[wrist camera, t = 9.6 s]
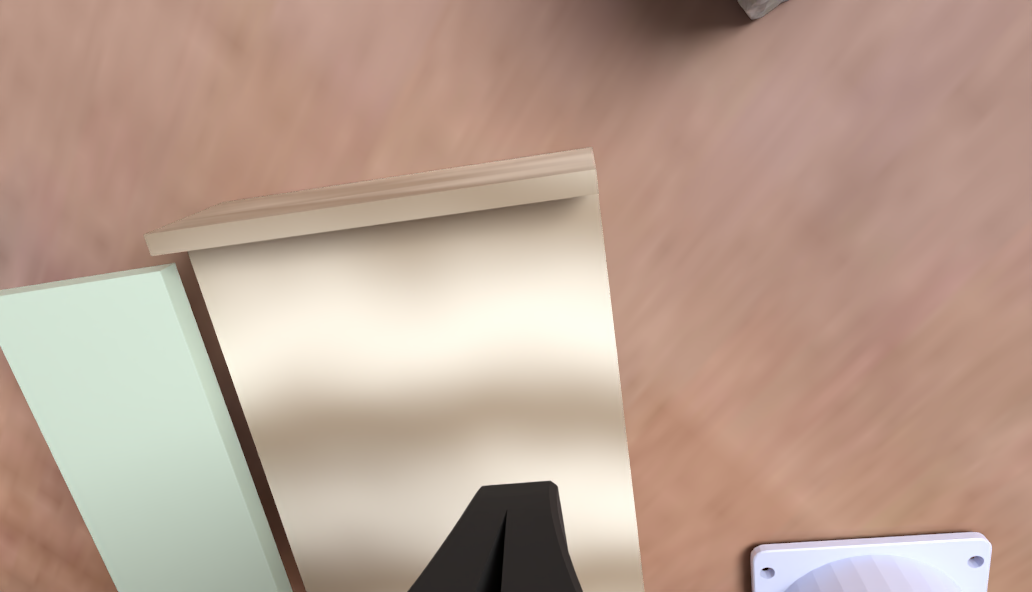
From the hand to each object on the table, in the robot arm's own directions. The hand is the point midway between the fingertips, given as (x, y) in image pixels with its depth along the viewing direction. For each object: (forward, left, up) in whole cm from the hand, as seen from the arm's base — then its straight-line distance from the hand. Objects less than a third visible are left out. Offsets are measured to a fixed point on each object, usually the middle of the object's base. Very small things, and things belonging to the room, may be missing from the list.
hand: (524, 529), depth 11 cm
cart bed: (-3, +4, -10) cm, 12 cm away
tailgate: (-3, +10, -8) cm, 13 cm away
